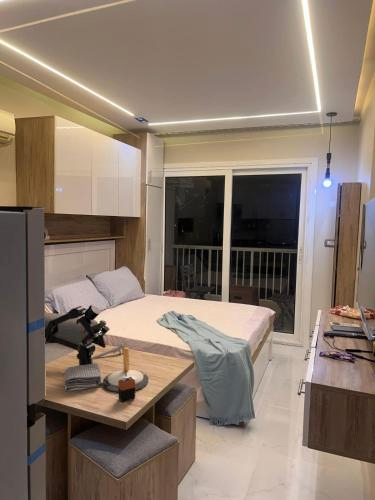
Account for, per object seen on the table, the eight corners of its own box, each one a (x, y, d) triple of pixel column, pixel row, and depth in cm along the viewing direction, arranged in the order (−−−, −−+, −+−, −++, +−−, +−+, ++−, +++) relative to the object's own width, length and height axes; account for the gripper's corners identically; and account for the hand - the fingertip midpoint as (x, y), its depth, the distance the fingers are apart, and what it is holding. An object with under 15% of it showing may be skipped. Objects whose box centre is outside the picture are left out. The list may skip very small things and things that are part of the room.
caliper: (123, 353, 226) (123, 343, 226) (124, 353, 226) (123, 343, 225) (91, 359, 216) (90, 348, 216) (91, 359, 216) (91, 349, 215)
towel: (64, 380, 187) (63, 365, 187) (100, 375, 194) (99, 361, 193) (64, 393, 173) (64, 378, 173) (103, 387, 180) (103, 372, 179)
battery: (118, 398, 168) (118, 378, 167) (131, 395, 172) (131, 374, 171) (121, 402, 165) (121, 381, 164) (135, 398, 168) (135, 378, 167)
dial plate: (97, 392, 174) (97, 388, 174) (109, 372, 197) (109, 369, 197) (144, 393, 173) (144, 390, 173) (151, 373, 196) (151, 370, 196)
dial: (143, 385, 177) (143, 359, 176) (106, 387, 175) (105, 361, 174) (143, 370, 196) (143, 346, 195) (109, 372, 193) (109, 348, 192)
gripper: (85, 320, 189) (103, 344, 186) (106, 312, 206) (123, 333, 203) (73, 333, 193) (91, 356, 190) (95, 324, 210) (111, 345, 207)
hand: (105, 347), depth 197 cm, fingers closed
